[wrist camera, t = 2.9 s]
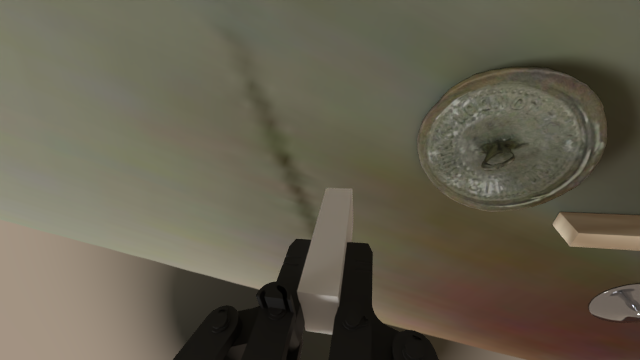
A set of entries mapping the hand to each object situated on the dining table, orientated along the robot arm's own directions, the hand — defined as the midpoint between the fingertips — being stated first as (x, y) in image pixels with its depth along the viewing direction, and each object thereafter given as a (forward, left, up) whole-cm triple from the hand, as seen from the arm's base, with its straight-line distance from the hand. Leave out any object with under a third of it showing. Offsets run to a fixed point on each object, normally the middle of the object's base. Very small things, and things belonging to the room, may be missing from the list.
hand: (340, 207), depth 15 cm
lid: (-1, +10, -9) cm, 14 cm away
